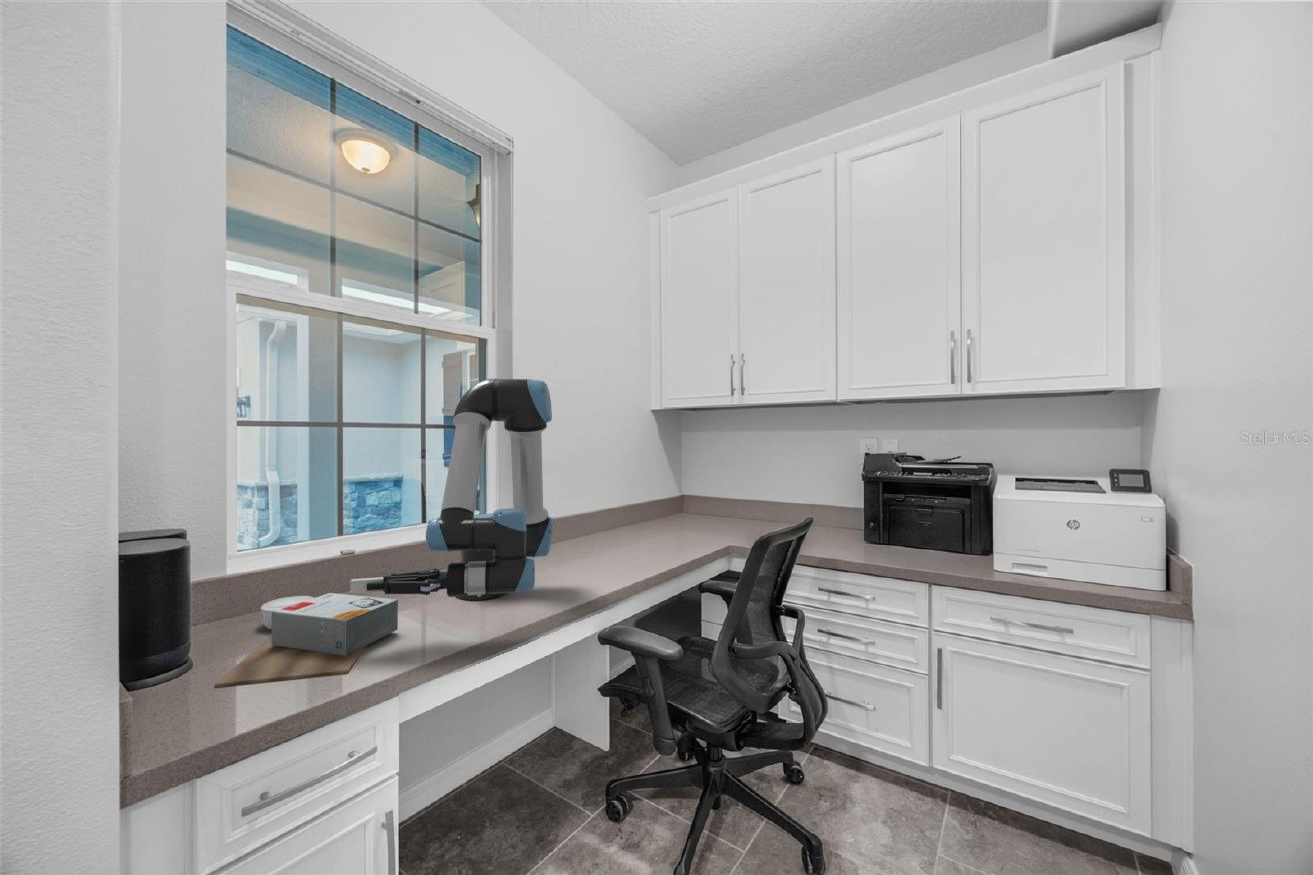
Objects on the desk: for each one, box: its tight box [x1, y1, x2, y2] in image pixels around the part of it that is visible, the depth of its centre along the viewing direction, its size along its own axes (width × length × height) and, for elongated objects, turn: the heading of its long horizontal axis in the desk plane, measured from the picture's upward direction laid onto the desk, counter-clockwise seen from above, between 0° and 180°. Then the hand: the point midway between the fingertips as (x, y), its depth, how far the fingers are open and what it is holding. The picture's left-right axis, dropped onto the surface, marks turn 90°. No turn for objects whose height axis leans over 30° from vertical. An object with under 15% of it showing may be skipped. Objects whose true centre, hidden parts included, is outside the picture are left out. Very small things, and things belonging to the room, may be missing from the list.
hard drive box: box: [270, 592, 399, 656], centre depth 118 cm, size 16×8×20 cm
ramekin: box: [260, 595, 315, 630], centre depth 129 cm, size 11×11×5 cm
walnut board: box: [214, 635, 367, 688], centre depth 111 cm, size 22×24×1 cm
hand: (351, 586), depth 113 cm, fingers closed
